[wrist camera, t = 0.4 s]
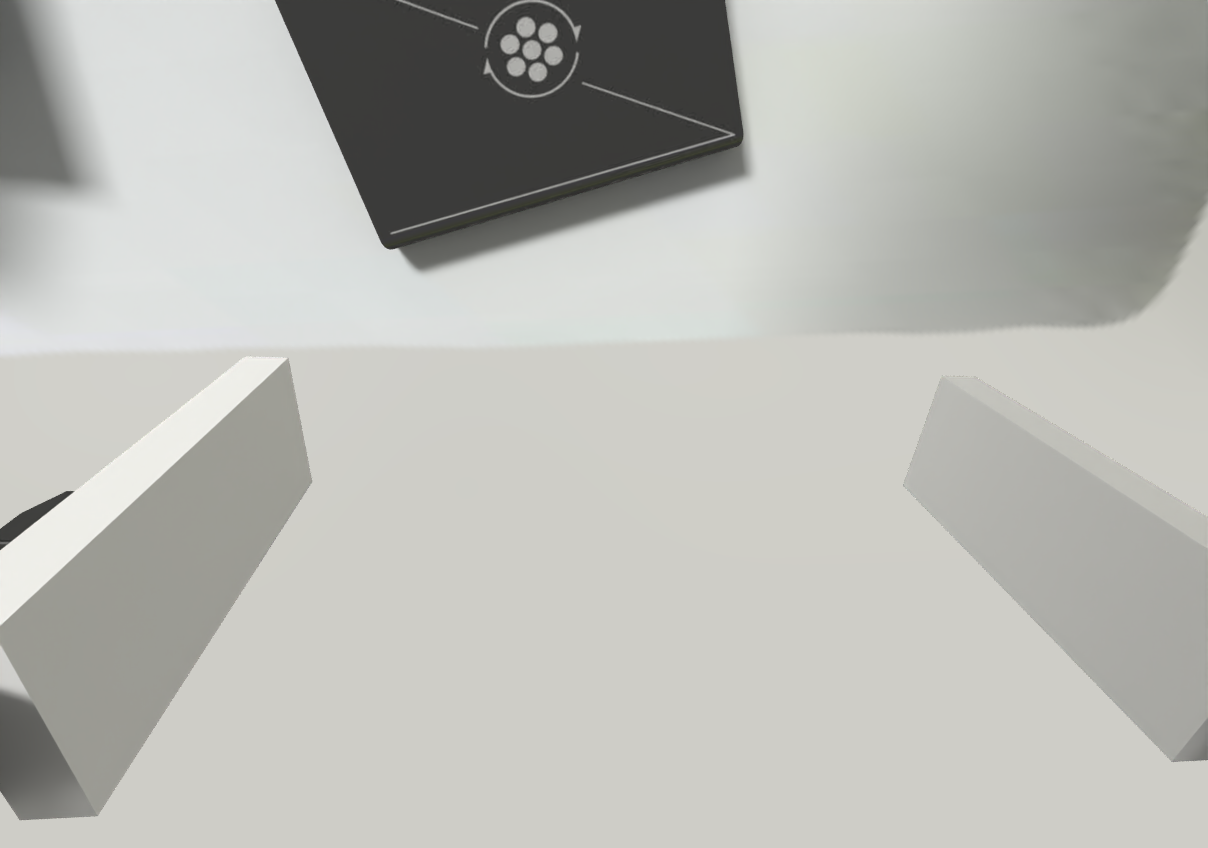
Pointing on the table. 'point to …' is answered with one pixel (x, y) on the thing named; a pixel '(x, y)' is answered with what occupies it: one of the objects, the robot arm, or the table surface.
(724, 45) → the book
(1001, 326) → the table surface
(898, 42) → the table surface
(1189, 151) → the table surface
